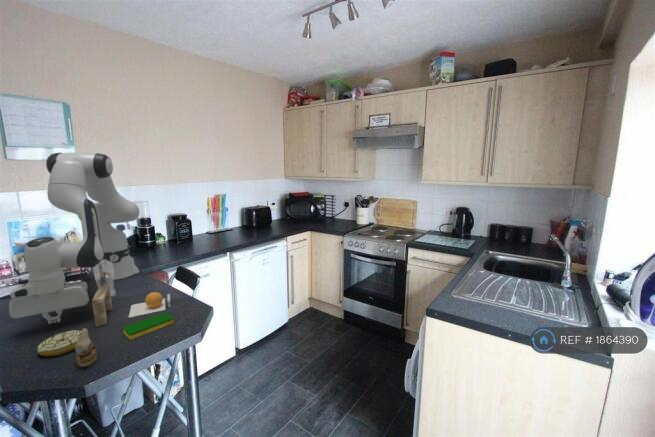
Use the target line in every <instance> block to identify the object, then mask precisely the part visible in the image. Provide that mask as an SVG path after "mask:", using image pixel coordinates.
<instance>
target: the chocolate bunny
mask: <svg viewBox="0 0 655 437" xmlns="http://www.w3.org/2000/svg"><path fill="white" fill-rule="evenodd" d="M80 331H81V334H80V336H79V337H78V340H77V343H76V348H75V349H74V351H75V354H76V355H75V357H76V362H77V363H76V364H77V366H79V367H80V368H87V367H89V366H91V365H93V364H94V363H95V361H97V360H98V351H97V349H96V346H94V345H93V342H92V340H91V338H90V337H89V336H90V335H89V331H88V329H87V328H86V327H85V328H82V330H80Z"/></svg>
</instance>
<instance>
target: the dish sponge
mask: <svg viewBox="0 0 655 437" xmlns="http://www.w3.org/2000/svg"><path fill="white" fill-rule="evenodd" d="M174 323H175V318H174V317H173V316H172V315H170V314H169V313H168V312H162V313H160V314H157V315H154V316H151V317H149V318H146V319H143V320H140V321H137V322H134V323H132V324H129V325H125V326H124V327H122V332H123V334H124V335H125V336H126V337H127V339H128V340H134V339H137V338H139V337H141V336H144V335H146V334H149V333H152V332H155V331H157V330H159V329H160V330H161V328H165V327H167V326H170V325H172V324H174Z"/></svg>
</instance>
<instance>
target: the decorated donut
mask: <svg viewBox="0 0 655 437" xmlns="http://www.w3.org/2000/svg"><path fill="white" fill-rule="evenodd" d="M81 331H82V330H79V329H78V330H76V329H74V330H73V329H72V330H69V331H65V332H60V333H57V334H55V335H52V336H50V337H48V338H47V339H45V340H43V341H42V342H41V343H39V345H38V346H37V353H38V354H39V355H40V356H41V357H54V356H55V357H56V356H61V355H64V354H66V353H69V352H71V351H75V348H76V343H77V340H78V337H79V336H80V334H81Z"/></svg>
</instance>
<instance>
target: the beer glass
mask: <svg viewBox="0 0 655 437" xmlns="http://www.w3.org/2000/svg"><path fill="white" fill-rule="evenodd" d="M93 276H94V277H93V278H94V280H95V283H96V285H97V287H98V288H99V286H105V285H109V288H110V295H111V298H113V297H115V296H116V295H117V292H116V290H115V280H114V268H113V264H112V261H102V262H100V263H99V264H97V265H96V266H95V267H93Z"/></svg>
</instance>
